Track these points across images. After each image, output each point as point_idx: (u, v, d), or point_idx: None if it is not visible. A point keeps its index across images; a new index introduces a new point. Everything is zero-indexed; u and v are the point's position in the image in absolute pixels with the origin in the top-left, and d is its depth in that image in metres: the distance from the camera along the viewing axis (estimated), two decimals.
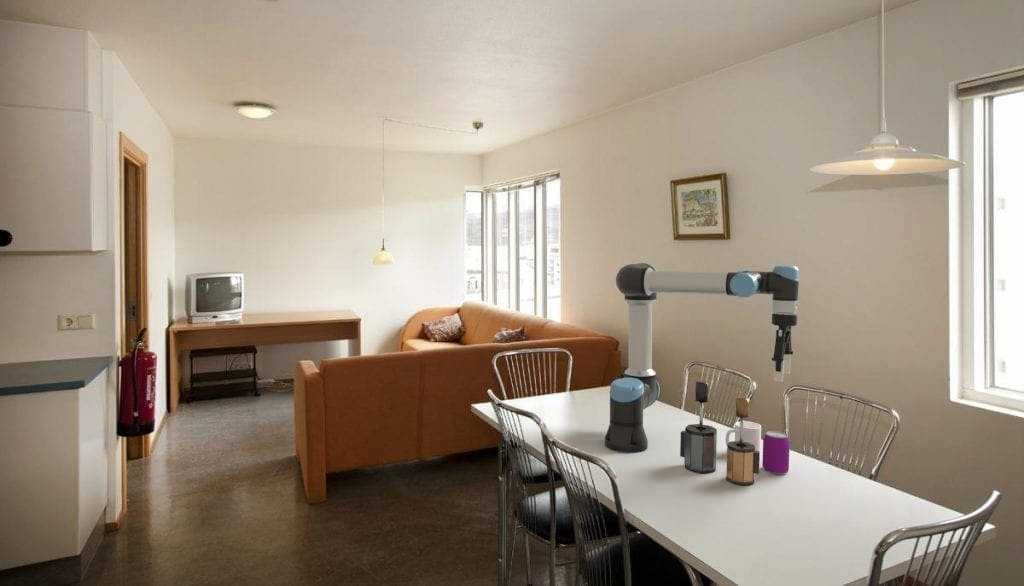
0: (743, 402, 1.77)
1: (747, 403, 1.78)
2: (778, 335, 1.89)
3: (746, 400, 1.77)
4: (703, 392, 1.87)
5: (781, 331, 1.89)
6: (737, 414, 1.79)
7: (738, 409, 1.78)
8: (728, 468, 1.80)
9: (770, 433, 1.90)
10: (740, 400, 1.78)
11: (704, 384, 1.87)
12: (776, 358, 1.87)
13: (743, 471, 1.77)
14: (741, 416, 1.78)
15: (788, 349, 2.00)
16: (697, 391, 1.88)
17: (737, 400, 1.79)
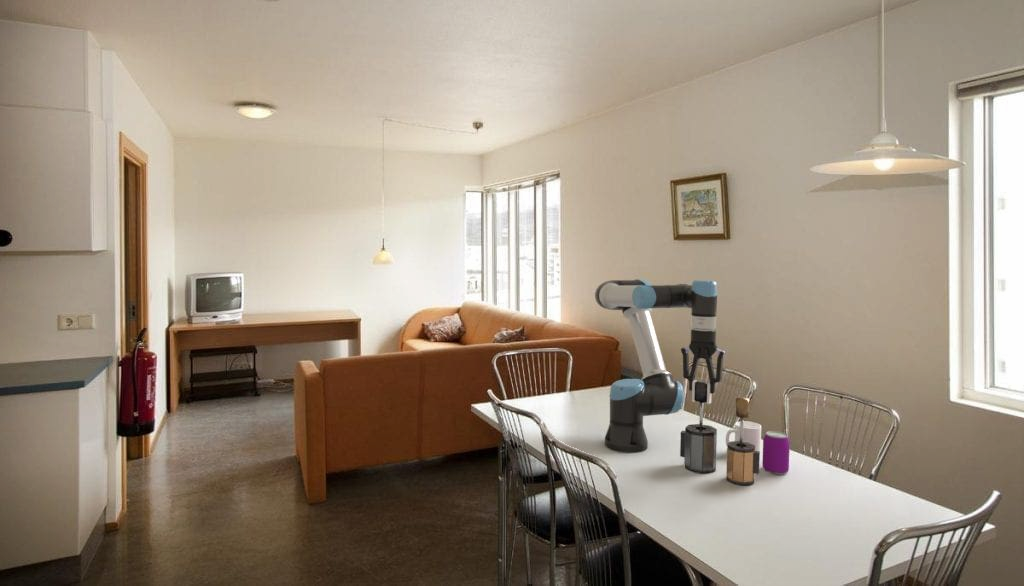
0: (743, 402, 1.77)
1: (747, 403, 1.78)
2: None
3: (746, 400, 1.77)
4: (703, 392, 1.87)
5: None
6: (737, 414, 1.79)
7: (738, 409, 1.78)
8: (728, 468, 1.80)
9: (770, 433, 1.90)
10: (740, 400, 1.78)
11: (704, 384, 1.87)
12: None
13: (743, 471, 1.77)
14: (741, 416, 1.78)
15: None
16: (697, 391, 1.88)
17: (737, 400, 1.79)
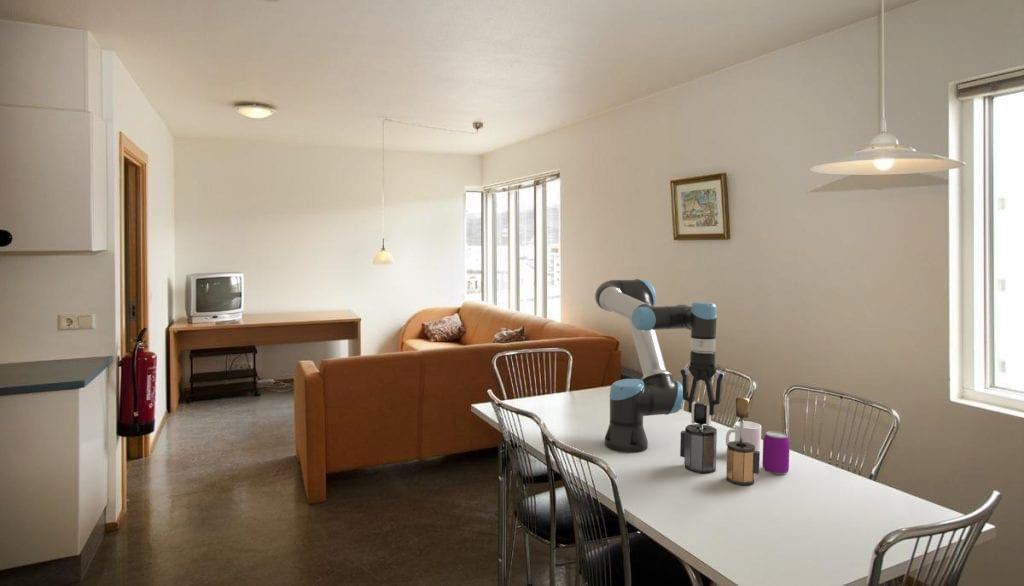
0: (743, 402, 1.77)
1: (747, 403, 1.78)
2: None
3: (746, 400, 1.77)
4: (703, 414, 1.88)
5: None
6: (737, 414, 1.79)
7: (738, 409, 1.78)
8: (728, 468, 1.80)
9: (770, 433, 1.90)
10: (740, 400, 1.78)
11: (703, 406, 1.88)
12: None
13: (743, 471, 1.77)
14: (741, 416, 1.78)
15: None
16: (696, 413, 1.89)
17: (737, 400, 1.79)
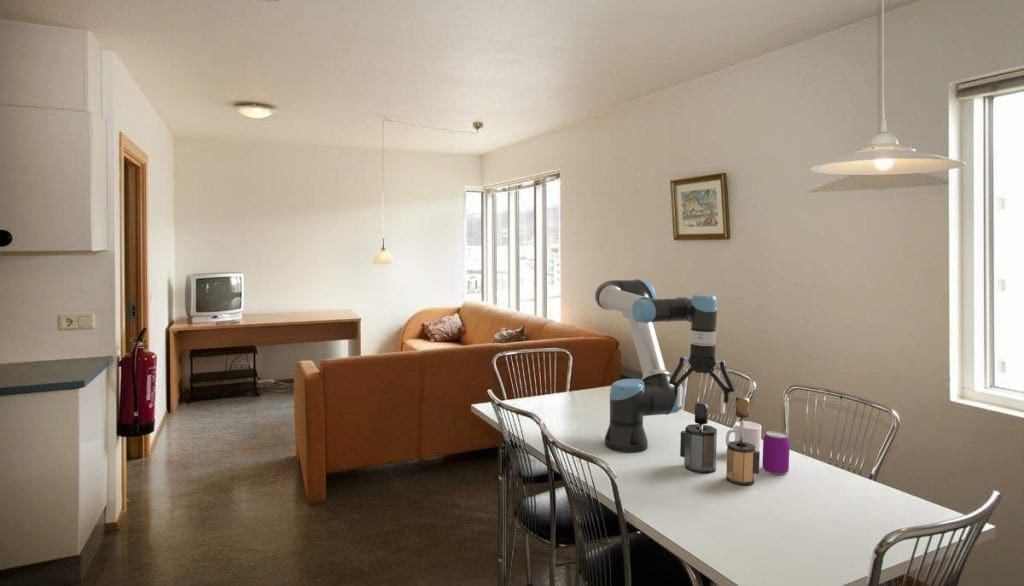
0: (743, 402, 1.77)
1: (747, 403, 1.78)
2: None
3: (746, 400, 1.77)
4: (703, 414, 1.88)
5: None
6: (737, 414, 1.79)
7: (738, 409, 1.78)
8: (728, 468, 1.80)
9: (770, 433, 1.90)
10: (740, 400, 1.78)
11: (703, 406, 1.88)
12: None
13: (743, 471, 1.77)
14: (741, 416, 1.78)
15: None
16: (696, 413, 1.89)
17: (737, 400, 1.79)
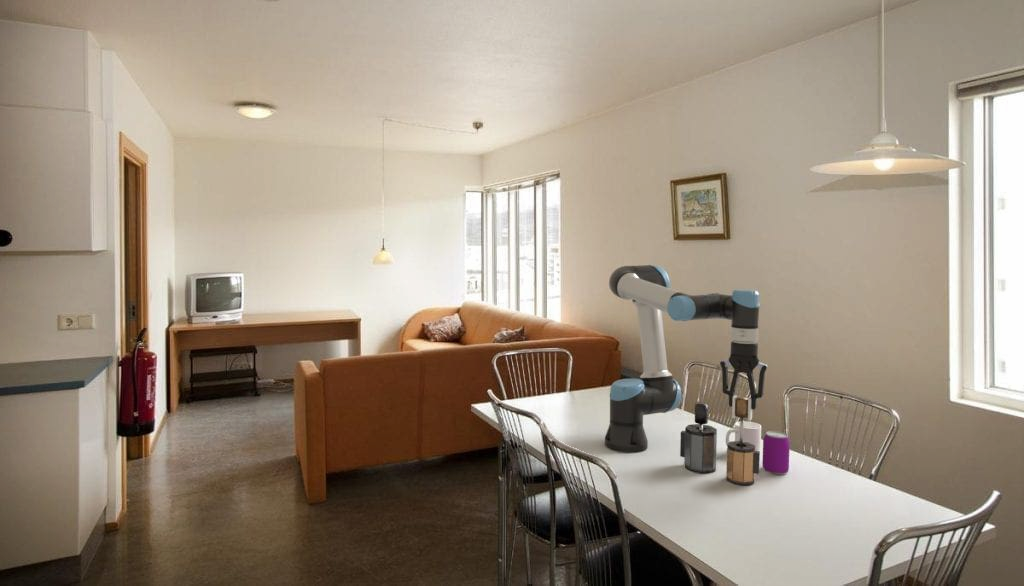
0: (743, 402, 1.77)
1: (747, 403, 1.78)
2: None
3: (746, 400, 1.77)
4: (703, 414, 1.88)
5: None
6: (737, 414, 1.79)
7: (738, 409, 1.78)
8: (728, 468, 1.80)
9: (770, 433, 1.90)
10: (740, 400, 1.78)
11: (703, 406, 1.88)
12: None
13: (743, 471, 1.77)
14: (741, 416, 1.78)
15: None
16: (696, 413, 1.89)
17: (737, 400, 1.79)
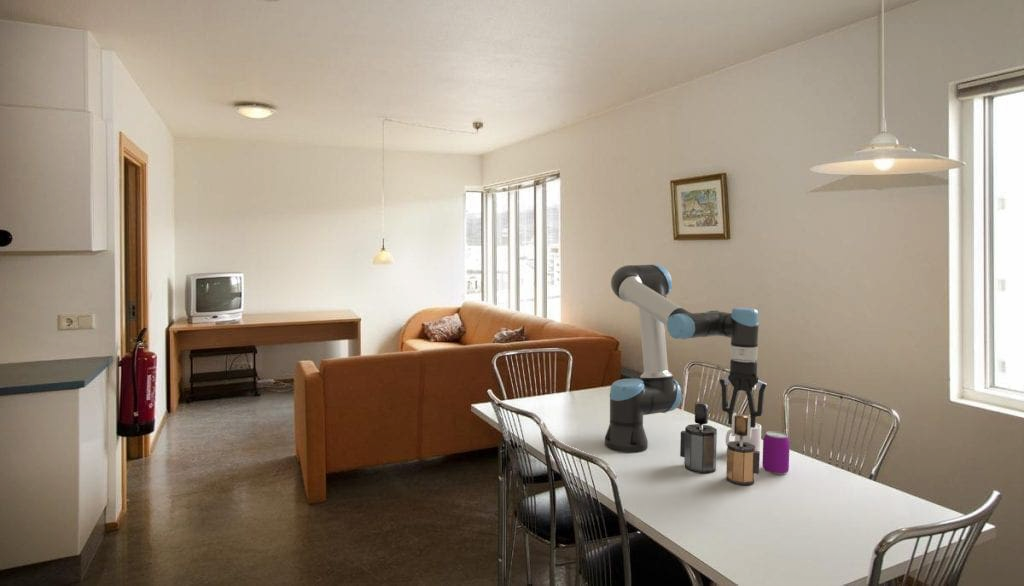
0: (742, 420, 1.78)
1: (746, 421, 1.78)
2: None
3: (745, 418, 1.78)
4: (703, 414, 1.88)
5: None
6: (736, 432, 1.79)
7: (738, 427, 1.79)
8: (728, 468, 1.80)
9: (770, 433, 1.90)
10: (739, 418, 1.78)
11: (703, 406, 1.88)
12: None
13: (743, 471, 1.77)
14: (740, 434, 1.78)
15: None
16: (696, 413, 1.89)
17: (736, 418, 1.79)
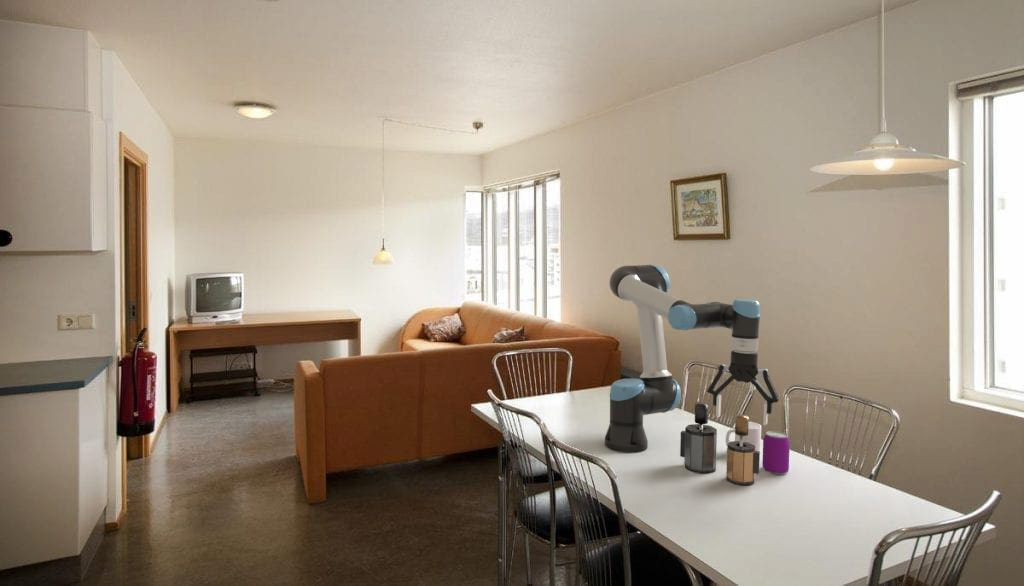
0: (742, 420, 1.78)
1: (746, 421, 1.78)
2: None
3: (745, 418, 1.78)
4: (703, 414, 1.88)
5: (720, 365, 1.82)
6: (736, 432, 1.79)
7: (738, 427, 1.79)
8: (728, 468, 1.80)
9: (770, 433, 1.90)
10: (739, 418, 1.78)
11: (703, 406, 1.88)
12: None
13: (743, 471, 1.77)
14: (740, 434, 1.78)
15: None
16: (696, 413, 1.89)
17: (736, 418, 1.79)
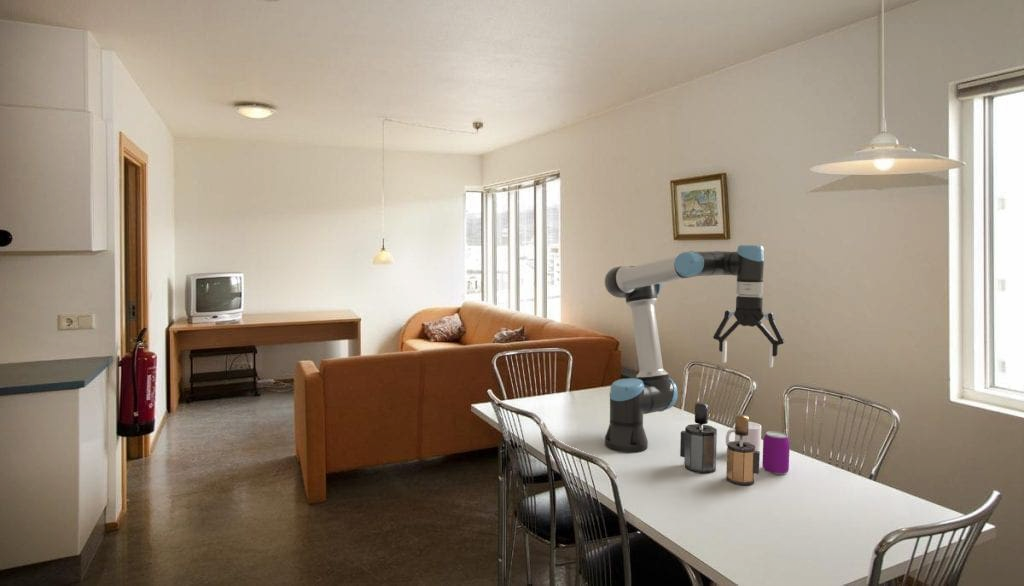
0: (742, 420, 1.78)
1: (746, 421, 1.78)
2: None
3: (745, 418, 1.78)
4: (703, 414, 1.88)
5: None
6: (736, 432, 1.79)
7: (738, 427, 1.79)
8: (728, 468, 1.80)
9: (770, 433, 1.90)
10: (739, 418, 1.78)
11: (703, 406, 1.88)
12: None
13: (743, 471, 1.77)
14: (740, 434, 1.78)
15: None
16: (696, 413, 1.89)
17: (736, 418, 1.79)
